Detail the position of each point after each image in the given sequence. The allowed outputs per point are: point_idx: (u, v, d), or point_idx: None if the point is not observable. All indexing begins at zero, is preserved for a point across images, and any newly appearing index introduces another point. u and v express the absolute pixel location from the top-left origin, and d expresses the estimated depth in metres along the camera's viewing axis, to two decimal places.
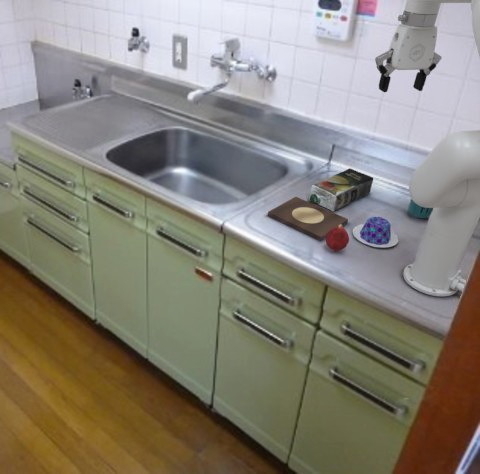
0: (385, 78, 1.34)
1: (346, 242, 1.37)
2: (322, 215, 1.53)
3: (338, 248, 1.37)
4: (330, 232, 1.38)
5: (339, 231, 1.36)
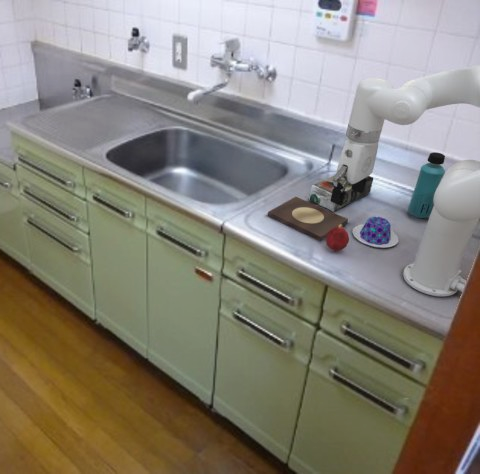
0: (341, 193, 1.28)
1: (346, 242, 1.37)
2: (322, 215, 1.53)
3: (338, 248, 1.37)
4: (330, 232, 1.38)
5: (339, 231, 1.36)
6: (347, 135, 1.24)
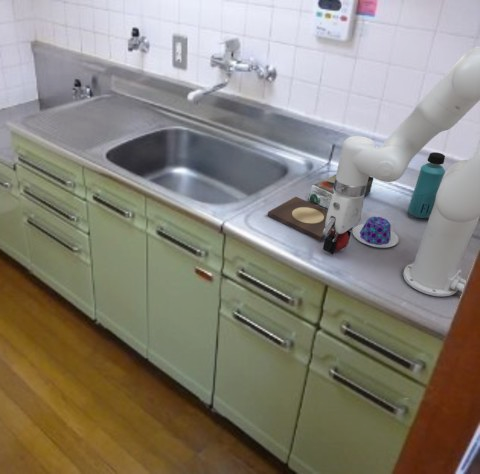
0: (332, 243, 1.36)
1: (346, 242, 1.37)
2: (322, 215, 1.53)
3: (338, 248, 1.37)
4: (330, 232, 1.38)
5: None
6: (334, 188, 1.30)
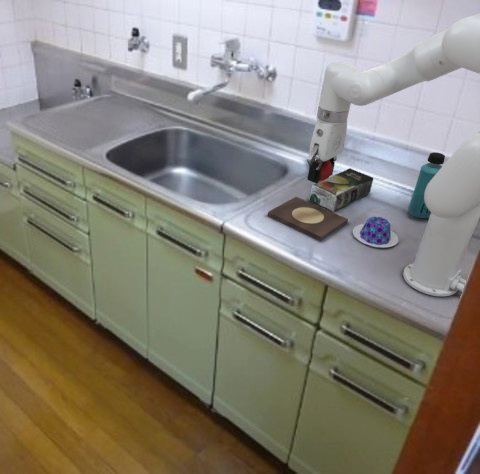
0: (316, 171, 1.39)
1: (330, 171, 1.40)
2: (322, 215, 1.53)
3: (322, 177, 1.41)
4: None
5: None
6: (318, 116, 1.34)
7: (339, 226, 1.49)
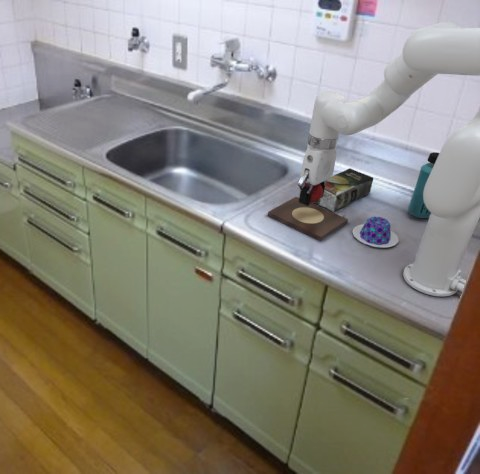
0: (307, 194, 1.46)
1: (320, 194, 1.47)
2: (322, 215, 1.53)
3: (312, 200, 1.47)
4: (305, 185, 1.48)
5: None
6: (308, 142, 1.40)
7: (339, 226, 1.49)
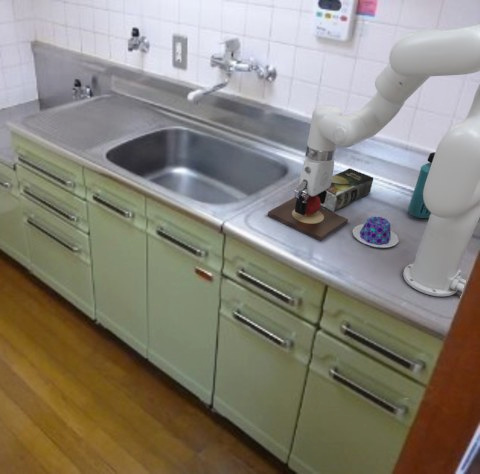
0: (303, 204, 1.46)
1: (318, 206, 1.49)
2: (322, 215, 1.53)
3: (310, 212, 1.49)
4: (303, 197, 1.50)
5: (311, 196, 1.48)
6: (306, 154, 1.42)
7: (339, 226, 1.49)
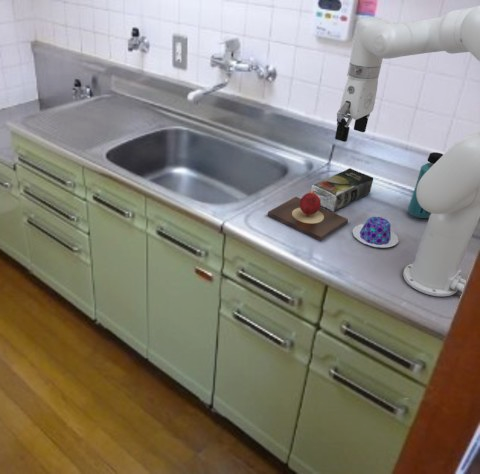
0: (345, 129, 1.36)
1: (318, 206, 1.49)
2: (322, 215, 1.53)
3: (310, 212, 1.49)
4: (303, 197, 1.50)
5: (311, 196, 1.48)
6: (349, 73, 1.32)
7: (339, 226, 1.49)
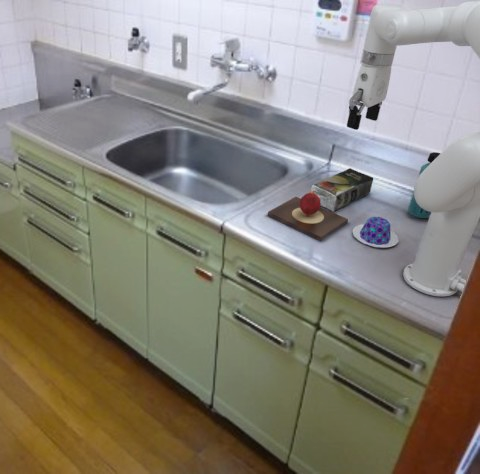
0: (356, 117, 1.36)
1: (318, 206, 1.49)
2: (322, 215, 1.53)
3: (310, 212, 1.49)
4: (303, 197, 1.50)
5: (311, 196, 1.48)
6: (362, 60, 1.32)
7: (339, 226, 1.49)
